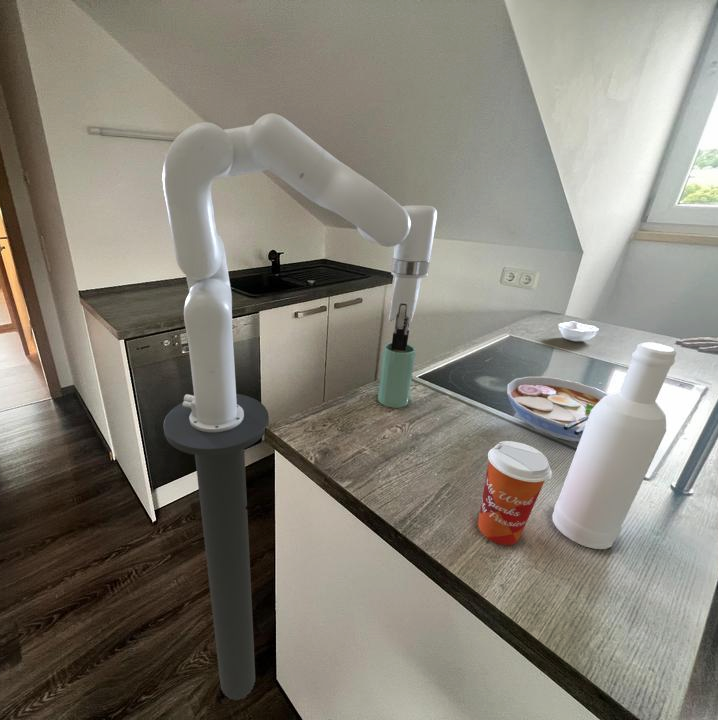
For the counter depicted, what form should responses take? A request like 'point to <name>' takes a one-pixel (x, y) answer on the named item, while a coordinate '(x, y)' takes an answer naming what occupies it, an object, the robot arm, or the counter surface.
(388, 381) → the cylindrical holder
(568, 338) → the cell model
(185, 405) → the robot arm
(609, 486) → the bottle
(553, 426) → the ramen bowl
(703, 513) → the counter surface
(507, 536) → the paper cup
